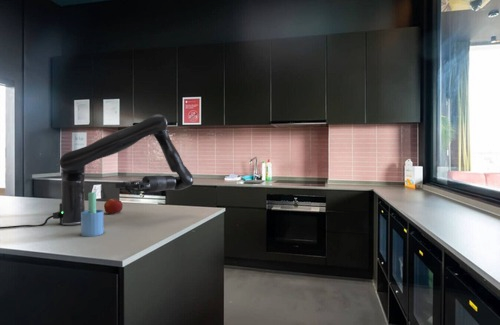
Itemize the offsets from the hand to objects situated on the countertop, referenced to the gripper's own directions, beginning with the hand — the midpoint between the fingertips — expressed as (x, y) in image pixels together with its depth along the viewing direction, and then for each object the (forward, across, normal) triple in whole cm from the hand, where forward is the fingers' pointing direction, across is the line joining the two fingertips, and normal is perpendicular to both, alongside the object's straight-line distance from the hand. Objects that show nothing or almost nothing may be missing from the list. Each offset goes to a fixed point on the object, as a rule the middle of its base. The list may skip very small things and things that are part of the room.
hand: (120, 186), depth 133 cm
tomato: (-13, -36, +19) cm, 43 cm away
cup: (+11, 0, +18) cm, 22 cm away
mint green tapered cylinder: (+11, 0, +18) cm, 21 cm away
